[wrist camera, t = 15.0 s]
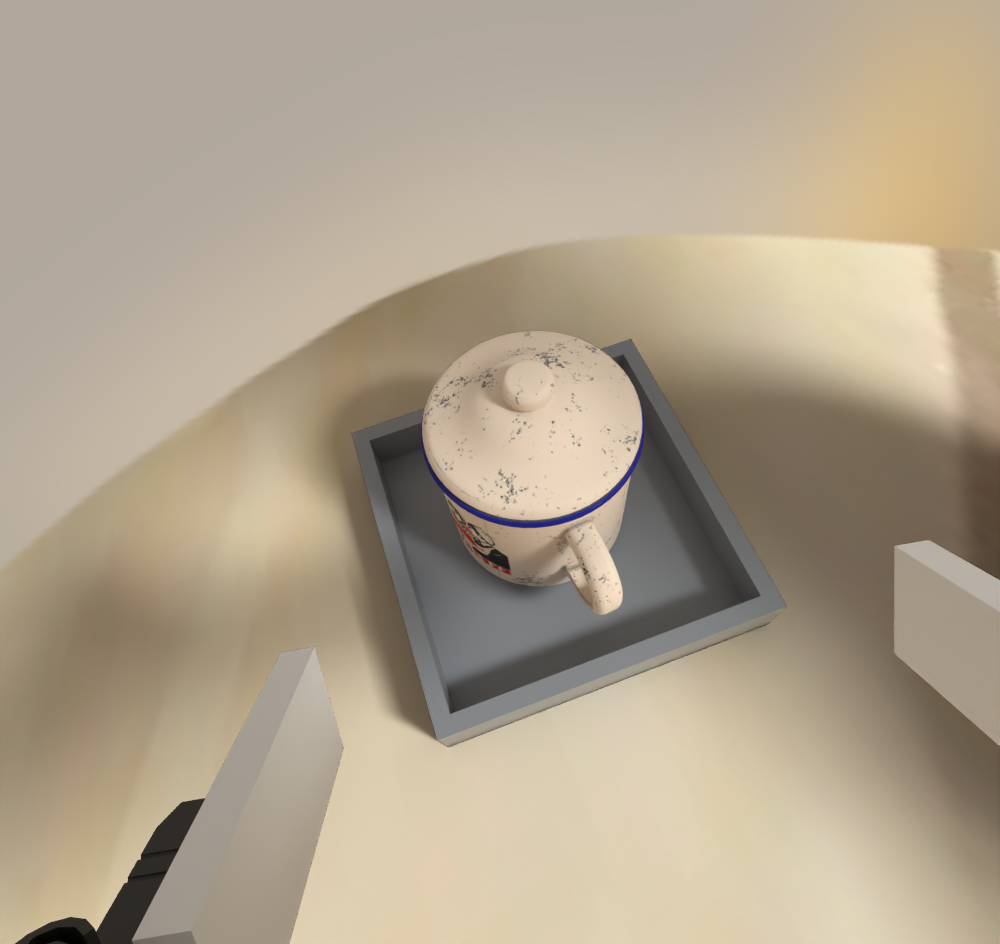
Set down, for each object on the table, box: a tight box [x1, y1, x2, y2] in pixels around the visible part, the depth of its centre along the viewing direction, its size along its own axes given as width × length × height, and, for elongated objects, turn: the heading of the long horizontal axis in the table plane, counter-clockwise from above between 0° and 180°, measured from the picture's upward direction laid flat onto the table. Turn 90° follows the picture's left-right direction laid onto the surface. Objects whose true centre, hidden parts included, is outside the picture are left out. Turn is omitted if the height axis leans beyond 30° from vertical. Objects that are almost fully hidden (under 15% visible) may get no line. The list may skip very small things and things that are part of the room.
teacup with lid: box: [421, 331, 645, 615], centre depth 28 cm, size 12×9×12 cm
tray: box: [351, 339, 787, 747], centre depth 32 cm, size 16×16×3 cm
